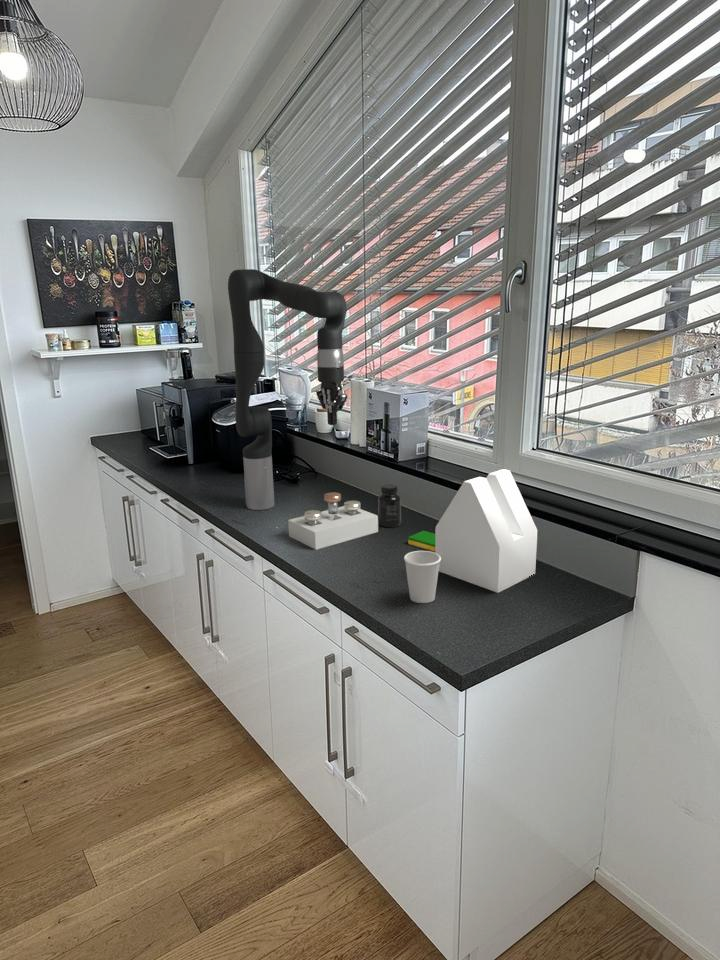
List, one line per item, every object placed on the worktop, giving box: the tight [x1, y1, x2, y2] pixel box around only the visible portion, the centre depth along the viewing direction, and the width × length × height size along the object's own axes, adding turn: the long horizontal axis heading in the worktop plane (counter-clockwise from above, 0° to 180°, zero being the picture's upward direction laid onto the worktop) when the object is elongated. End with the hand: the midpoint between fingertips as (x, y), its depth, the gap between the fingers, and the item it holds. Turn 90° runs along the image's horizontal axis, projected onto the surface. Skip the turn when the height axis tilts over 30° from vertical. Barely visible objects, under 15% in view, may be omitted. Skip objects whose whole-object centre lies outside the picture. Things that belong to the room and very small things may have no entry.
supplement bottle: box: [377, 483, 402, 528], centre depth 203 cm, size 7×7×12 cm
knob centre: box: [323, 491, 342, 514], centre depth 194 cm, size 5×5×6 cm
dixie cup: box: [403, 550, 441, 604], centre depth 153 cm, size 8×8×10 cm
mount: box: [287, 505, 379, 550], centre depth 196 cm, size 14×22×5 cm, turn 127°
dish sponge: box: [407, 530, 435, 552], centre depth 186 cm, size 7×14×2 cm, turn 48°
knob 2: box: [343, 500, 362, 516], centre depth 200 cm, size 5×5×6 cm
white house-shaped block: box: [434, 468, 538, 594], centre depth 165 cm, size 19×15×25 cm
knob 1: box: [303, 509, 322, 526], centre depth 191 cm, size 5×5×6 cm
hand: (332, 424), depth 196 cm, fingers closed
